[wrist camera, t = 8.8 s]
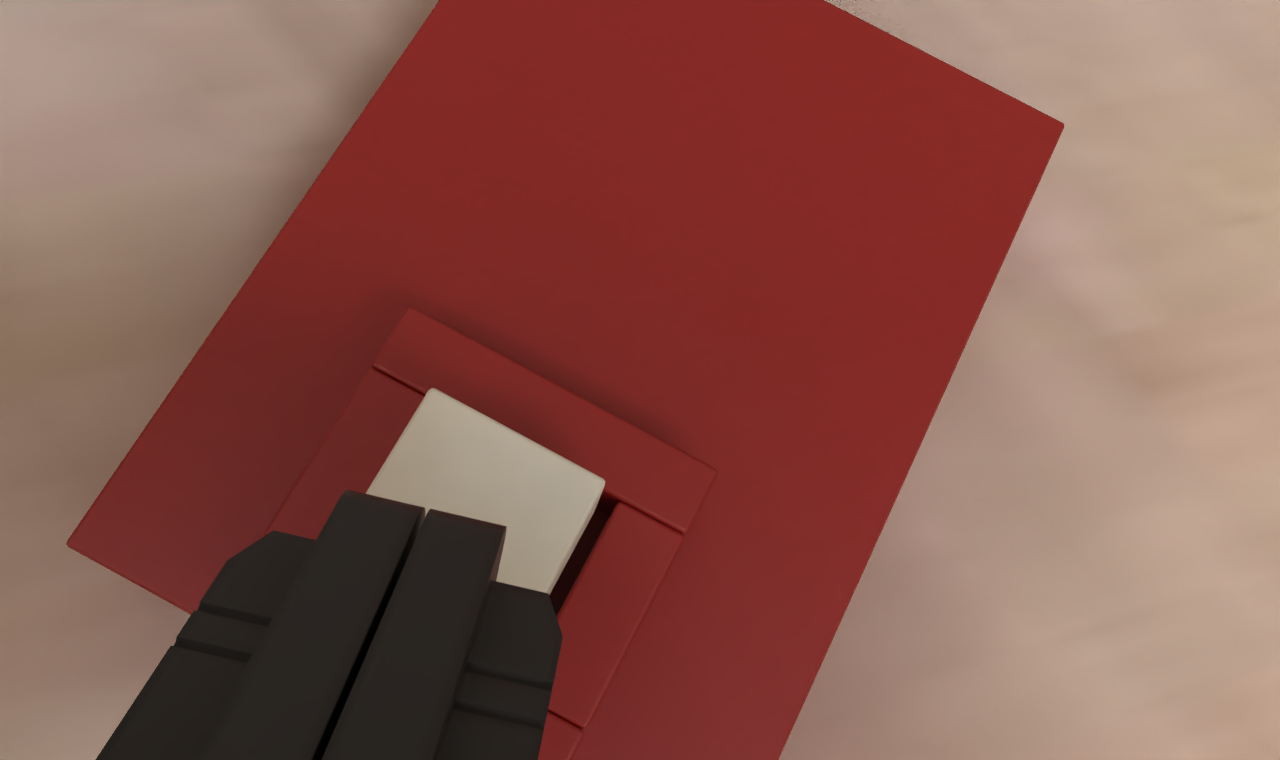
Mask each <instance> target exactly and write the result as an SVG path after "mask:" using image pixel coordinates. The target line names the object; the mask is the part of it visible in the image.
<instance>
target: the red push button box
mask: <svg viewBox="0 0 1280 760" xmlns="http://www.w3.org/2000/svg"><path fill="white" fill-rule="evenodd" d="M1063 128H1064V124H1063V123H1062V122H1060V121H1058V120H1056V119H1054V118H1052V117H1050V116H1048V115H1046V114H1044V113H1042V112H1040V111H1038V110H1036V109H1034V108H1032V107H1031V106H1029V105H1027V104H1025V103H1023V102H1021V101H1019V100H1017V99H1015V98H1013V97H1011V96H1009V95H1007V94H1005V93H1003V92H1001V91H999V90H997V89H996V88H994V87H992V86H990V85H988V84H986V83H984V82H982V81H980V80H978V79H976V78H974V77H972V76H970V75H968V74H966V73H964V72H962V71H960V70H959V69H957V68H955V67H953V66H951V65H949V64H947V63H945V62H943V61H941V60H939V59H937V58H935V57H933V56H931V55H929V54H927V53H925V52H923V51H922V50H920V49H918V48H916V47H914V46H912V45H910V44H908V43H906V42H904V41H902V40H900V39H898V38H896V37H894V36H892V35H890V34H888V33H886V32H885V31H883V30H881V29H879V28H877V27H875V26H873V25H871V24H869V23H867V22H865V21H863V20H861V19H859V18H857V17H855V16H853V15H851V14H850V13H848V12H846V11H844V10H842V9H840V8H838V7H836V6H834V5H832V4H830V3H828V2H826V1H824V0H439V1H438V3H437V4H436V6H435V7H434V9H433V10H432V11H431V13H430V14H429V16H428V17H427V19H426V20H425V22H424V23H423V25H422V26H421V27H420V29H419V30H418V32H417V33H416V35H415V36H414V38H413V39H412V41H411V42H410V43H409V45H408V46H407V48H406V49H405V51H404V52H403V54H402V55H401V57H400V58H399V59H398V61H397V62H396V64H395V65H394V67H393V68H392V70H391V71H390V73H389V74H388V75H387V77H386V78H385V80H384V81H383V83H382V84H381V86H380V87H379V89H378V90H377V91H376V93H375V94H374V96H373V97H372V99H371V100H370V102H369V103H368V105H367V106H366V107H365V109H364V110H363V112H362V113H361V115H360V116H359V118H358V119H357V120H356V122H355V123H354V125H353V126H352V128H351V129H350V131H349V132H348V134H347V135H346V136H345V138H344V139H343V141H342V142H341V144H340V145H339V147H338V148H337V150H336V151H335V152H334V154H333V155H332V157H331V158H330V160H329V161H328V163H327V164H326V166H325V167H324V168H323V170H322V171H321V173H320V174H319V176H318V177H317V179H316V180H315V182H314V183H313V184H312V186H311V187H310V189H309V190H308V192H307V193H306V195H305V196H304V198H303V199H302V200H301V202H300V203H299V205H298V206H297V208H296V209H295V211H294V212H293V214H292V215H291V216H290V218H289V219H288V221H287V222H286V224H285V225H284V227H283V228H282V229H281V231H280V232H279V234H278V235H277V237H276V238H275V240H274V241H273V243H272V244H271V245H270V247H269V248H268V250H267V251H266V253H265V254H264V256H263V257H262V259H261V260H260V261H259V263H258V264H257V266H256V267H255V269H254V270H253V272H252V273H251V275H250V276H249V277H248V279H247V280H246V282H245V283H244V285H243V286H242V288H241V289H240V291H239V292H238V293H237V295H236V296H235V298H234V299H233V301H232V302H231V304H230V305H229V307H228V308H227V309H226V311H225V312H224V314H223V315H222V317H221V318H220V320H219V321H218V323H217V324H216V325H215V327H214V328H213V330H212V331H211V333H210V334H209V336H208V337H207V338H206V340H205V341H204V343H203V344H202V346H201V347H200V349H199V350H198V352H197V353H196V354H195V356H194V357H193V359H192V360H191V362H190V363H189V365H188V366H187V368H186V369H185V370H184V372H183V373H182V375H181V376H180V378H179V379H178V381H177V382H176V384H175V385H174V386H173V388H172V389H171V391H170V392H169V394H168V395H167V397H166V398H165V400H164V401H163V402H162V404H161V405H160V407H159V408H158V410H157V411H156V413H155V414H154V416H153V417H152V418H151V420H150V421H149V423H148V424H147V426H146V427H145V429H144V430H143V432H142V433H141V434H140V436H139V437H138V439H137V440H136V442H135V443H134V445H133V446H132V448H131V449H130V450H129V452H128V453H127V455H126V456H125V458H124V459H123V461H122V462H121V463H120V465H119V466H118V468H117V469H116V471H115V472H114V474H113V475H112V477H111V478H110V479H109V481H108V482H107V484H106V485H105V487H104V488H103V490H102V491H101V493H100V494H99V495H98V497H97V498H96V500H95V501H94V503H93V504H92V506H91V507H90V509H89V510H88V511H87V513H86V514H85V516H84V517H83V519H82V520H81V522H80V523H79V525H78V526H77V527H76V529H75V530H74V532H73V533H72V535H71V536H70V538H69V539H68V541H67V543H66V544H67V546H68V547H70V548H71V549H73V550H75V551H77V552H79V553H80V554H82V555H84V556H86V557H88V558H90V559H91V560H93V561H95V562H97V563H99V564H100V565H102V566H104V567H106V568H108V569H110V570H111V571H113V572H115V573H117V574H119V575H120V576H122V577H124V578H126V579H128V580H130V581H131V582H133V583H135V584H137V585H139V586H140V587H142V588H144V589H146V590H148V591H150V592H151V593H153V594H155V595H157V596H159V597H160V598H162V599H164V600H166V601H168V602H169V603H171V604H173V605H175V606H177V607H179V608H180V609H182V610H184V611H186V612H188V613H189V614H192V613H193V611H194V610H196V611H197V610H198V607H199V604H200V601H201V599H202V598H203V596H204V595H205V593H206V592H207V590H208V589H209V587H210V586H211V584H212V583H213V581H214V580H215V578H216V577H217V575H218V573H219V572H220V570H221V569H222V567H223V566H224V564H225V563H226V561H227V560H228V559H230V558H231V557H233V556H235V555H236V554H238V553H239V552H241V551H242V550H244V549H245V548H247V547H248V546H250V545H251V544H253V543H255V542H256V541H258V540H259V539H261V538H262V537H264V536H265V535H267V534H268V533H270V532H271V531H273V530H275V531H279V532H283V533H288V534H292V535H296V536H301V537H305V538H309V539H314V540H316V539H317V538H318V536H319V534H320V532H321V530H322V529H323V527H324V525H325V523H326V522H327V520H328V518H329V516H330V514H331V513H332V511H333V509H334V507H335V505H336V504H337V502H338V500H339V498H340V497H341V495H342V494H343V493H344V491H346V490H352V491H356V492H360V493H365V494H366V492H367V490H368V489H369V487H370V485H371V484H372V482H373V480H374V479H375V477H376V476H377V474H378V472H379V471H380V469H381V467H382V466H383V464H384V462H385V461H386V459H387V457H388V456H389V454H390V453H391V451H392V449H393V448H394V446H395V444H396V443H397V441H398V439H399V438H400V436H401V435H402V433H403V431H404V430H405V428H406V426H407V425H408V423H409V421H410V420H411V418H412V416H413V415H414V413H415V412H416V410H417V408H418V407H419V405H420V403H421V402H422V400H423V398H424V397H425V395H426V393H427V392H428V390H430V389H431V388H435V389H437V390H439V391H441V392H443V393H445V394H447V395H448V396H450V397H452V398H454V399H456V400H458V401H460V402H462V403H463V404H465V405H467V406H469V407H471V408H473V409H475V410H476V411H478V412H480V413H482V414H484V415H486V416H488V417H489V418H491V419H493V420H495V421H497V422H499V423H501V424H503V425H504V426H506V427H508V428H510V429H512V430H514V431H516V432H517V433H519V434H521V435H523V436H525V437H527V438H529V439H531V440H532V441H534V442H536V443H538V444H540V445H542V446H544V447H545V448H547V449H549V450H551V451H553V452H555V453H557V454H558V455H560V456H562V457H564V458H566V459H568V460H570V461H572V462H573V463H575V464H577V465H579V466H581V467H583V468H585V469H586V470H588V471H590V472H592V473H594V474H596V475H598V476H599V477H601V478H603V479H604V480H605V486H604V489H603V491H602V494H601V496H600V499H599V501H598V504H597V506H596V509H595V511H594V513H593V515H592V517H591V519H590V521H589V523H588V525H587V526H586V528H585V530H584V532H583V534H582V536H581V538H580V539H579V541H578V543H577V545H576V547H575V549H574V551H573V552H572V554H571V556H570V558H569V560H568V562H567V564H566V565H565V567H564V569H563V571H562V573H561V575H560V577H559V578H558V580H557V582H556V584H555V586H554V588H553V590H552V591H551V593H550V595H549V596H550V599H551V602H552V605H553V608H554V611H555V614H556V617H557V620H558V623H559V626H560V629H561V632H562V635H563V640H562V645H561V650H560V654H559V659H558V664H557V669H556V674H555V679H554V683H553V687H552V693H551V698H550V703H549V708H548V713H547V718H546V722H545V726H544V732H543V737H542V742H541V747H540V752H539V756H538V760H778V759H779V757H780V755H781V752H782V750H783V748H784V746H785V744H786V741H787V739H788V737H789V735H790V732H791V730H792V728H793V726H794V724H795V721H796V719H797V717H798V715H799V713H800V710H801V708H802V706H803V704H804V701H805V699H806V697H807V695H808V693H809V690H810V688H811V686H812V684H813V682H814V679H815V677H816V675H817V673H818V670H819V668H820V666H821V664H822V662H823V659H824V657H825V655H826V653H827V651H828V648H829V646H830V644H831V642H832V640H833V637H834V635H835V633H836V631H837V628H838V626H839V624H840V622H841V620H842V617H843V615H844V613H845V611H846V609H847V606H848V604H849V602H850V600H851V597H852V595H853V593H854V591H855V589H856V586H857V584H858V582H859V580H860V578H861V575H862V573H863V571H864V569H865V567H866V564H867V562H868V560H869V558H870V555H871V553H872V551H873V549H874V547H875V544H876V542H877V540H878V538H879V536H880V533H881V531H882V529H883V527H884V524H885V522H886V520H887V518H888V516H889V513H890V511H891V509H892V507H893V505H894V502H895V500H896V498H897V496H898V494H899V491H900V489H901V487H902V485H903V482H904V480H905V478H906V476H907V474H908V471H909V469H910V467H911V465H912V463H913V460H914V458H915V456H916V454H917V451H918V449H919V447H920V445H921V443H922V440H923V438H924V436H925V434H926V432H927V429H928V427H929V425H930V423H931V420H932V418H933V416H934V414H935V412H936V409H937V407H938V405H939V403H940V401H941V398H942V396H943V394H944V392H945V390H946V387H947V385H948V383H949V381H950V378H951V376H952V374H953V372H954V370H955V367H956V365H957V363H958V361H959V359H960V356H961V354H962V352H963V350H964V347H965V345H966V343H967V341H968V339H969V336H970V334H971V332H972V330H973V328H974V325H975V323H976V321H977V319H978V317H979V314H980V312H981V310H982V308H983V305H984V303H985V301H986V299H987V297H988V294H989V292H990V290H991V288H992V286H993V283H994V281H995V279H996V277H997V274H998V272H999V270H1000V268H1001V266H1002V263H1003V261H1004V259H1005V257H1006V255H1007V252H1008V250H1009V248H1010V246H1011V244H1012V241H1013V239H1014V237H1015V235H1016V232H1017V230H1018V228H1019V226H1020V224H1021V221H1022V219H1023V217H1024V215H1025V213H1026V210H1027V208H1028V206H1029V204H1030V201H1031V199H1032V197H1033V195H1034V193H1035V190H1036V188H1037V186H1038V184H1039V182H1040V179H1041V177H1042V175H1043V173H1044V170H1045V168H1046V166H1047V164H1048V162H1049V159H1050V157H1051V155H1052V153H1053V151H1054V148H1055V146H1056V144H1057V142H1058V140H1059V137H1060V135H1061V133H1062V131H1063Z"/></svg>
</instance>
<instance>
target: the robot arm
mask: <svg viewBox="0 0 1280 760" xmlns="http://www.w3.org/2000/svg"><path fill="white" fill-rule="evenodd" d="M506 529H507V526H503V525H499V524H495V523H490V522H486V521H482V520H477V519H473V518H469V517H465V516H460V515H456V514H452V513H447V512H443V511H439V510H435V509H430V510H429V511H428V513H427V514H426V517H425V508H424V507H420V506H416V505H412V504H407V503H403V502H399V501H395V500H390V499H386V498H382V497H377V496H373V495H369V494H365V493H360V492H356V491H352V490H346V491H344V493H343V494H342V495H341V497H340V498H339V500H338V502H337V504H336V505H335V507H334V509H333V511H332V513H331V514H330V516H329V518H328V520H327V522H326V523H325V525H324V527H323V529H322V530H321V532H320V534H319V536H318V538H317V539H316V540H314V539H309V538H305V537H301V536H296V535H292V534H288V533H283V532H279V531H275V530H273V531H271V532H270V533H268V534H267V535H265V536H264V537H262V538H261V539H259V540H258V541H256V542H255V543H253V544H251V545H250V546H248V547H247V548H245V549H244V550H242V551H241V552H239V553H238V554H236V555H235V556H233V557H231V558H230V559H228V560H227V561H226V563H225V564H224V566H223V567H222V569H221V570H220V572H219V573H218V575H217V577H216V578H215V580H214V581H213V583H212V584H211V586H210V587H209V589H208V590H207V592H206V593H205V595H204V596H203V598H202V599H201V601H200V604H199V607H198V610H197V611H196V610H194V611H193V613H192V614H191V616H190V617H189V619H188V621H187V622H186V624H185V625H184V627H183V628H182V630H181V631H180V633H179V634H178V636H177V639H176V642H175V645H174V646H170V648H169V649H168V651H167V652H166V654H165V655H164V657H163V658H162V660H161V661H160V663H159V665H158V666H157V668H156V669H155V671H154V672H153V674H152V675H151V677H150V678H149V680H148V681H147V683H146V684H145V686H144V687H143V689H142V690H141V692H140V693H139V695H138V696H137V698H136V699H135V701H134V702H133V704H132V705H131V707H130V709H129V710H128V712H127V713H126V715H125V716H124V718H123V719H122V721H121V722H120V724H119V725H118V727H117V728H116V730H115V731H114V733H113V734H112V736H111V737H110V739H109V740H108V742H107V743H106V745H105V746H104V748H103V749H102V751H101V753H100V754H99V756H98V757H97V759H96V760H538V756H539V752H540V747H541V742H542V737H543V732H544V726H545V722H546V718H547V713H548V708H549V703H550V698H551V693H552V687H553V683H554V679H555V674H556V669H557V664H558V659H559V654H560V650H561V645H562V640H563V635H562V632H561V629H560V626H559V623H558V620H557V617H556V614H555V611H554V608H553V605H552V602H551V599H550V596H549V593H544V592H540V591H536V590H531V589H527V588H523V587H518V586H514V585H510V584H505V583H501V582H497V581H496V579H497V575H498V570H499V565H500V560H501V556H502V551H503V546H504V541H505V536H506Z"/></svg>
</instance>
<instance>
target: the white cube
mask: <svg viewBox="0 0 1280 760" xmlns="http://www.w3.org/2000/svg"><path fill="white" fill-rule="evenodd" d="M604 486H605V480H604V479H603V478H601V477H599V476H598V475H596V474H594V473H592V472H590V471H588V470H586V469H585V468H583V467H581V466H579V465H577V464H575V463H573V462H572V461H570V460H568V459H566V458H564V457H562V456H560V455H558V454H557V453H555V452H553V451H551V450H549V449H547V448H545V447H544V446H542V445H540V444H538V443H536V442H534V441H532V440H531V439H529V438H527V437H525V436H523V435H521V434H519V433H517V432H516V431H514V430H512V429H510V428H508V427H506V426H504V425H503V424H501V423H499V422H497V421H495V420H493V419H491V418H489V417H488V416H486V415H484V414H482V413H480V412H478V411H476V410H475V409H473V408H471V407H469V406H467V405H465V404H463V403H462V402H460V401H458V400H456V399H454V398H452V397H450V396H448V395H447V394H445V393H443V392H441V391H439V390H437V389H435V388H431V389H430V390H428V392H427V393H426V395H425V397H424V398H423V400H422V402H421V403H420V405H419V407H418V408H417V410H416V412H415V413H414V415H413V416H412V418H411V420H410V421H409V423H408V425H407V426H406V428H405V430H404V431H403V433H402V435H401V436H400V438H399V439H398V441H397V443H396V444H395V446H394V448H393V449H392V451H391V453H390V454H389V456H388V457H387V459H386V461H385V462H384V464H383V466H382V467H381V469H380V471H379V472H378V474H377V476H376V477H375V479H374V480H373V482H372V484H371V485H370V487H369V489H368V490H367V492H366V494H369V495H373V496H377V497H382V498H386V499H390V500H395V501H399V502H403V503H407V504H412V505H416V506H420V507H424V508H425V517H426V514H427V513H428V511H429V510H430V509H435V510H439V511H443V512H447V513H452V514H456V515H460V516H465V517H469V518H473V519H477V520H482V521H486V522H490V523H495V524H499V525H503V526H507V529H506V536H505V541H504V546H503V551H502V556H501V560H500V565H499V570H498V575H497V579H496V581H497V582H501V583H505V584H510V585H514V586H518V587H523V588H527V589H531V590H536V591H540V592H544V593H549V595H550V593H551V591H552V590H553V588H554V586H555V584H556V582H557V580H558V578H559V577H560V575H561V573H562V571H563V569H564V567H565V565H566V564H567V562H568V560H569V558H570V556H571V554H572V552H573V551H574V549H575V547H576V545H577V543H578V541H579V539H580V538H581V536H582V534H583V532H584V530H585V528H586V526H587V525H588V523H589V521H590V519H591V517H592V515H593V513H594V511H595V509H596V506H597V504H598V501H599V499H600V496H601V494H602V491H603V489H604Z"/></svg>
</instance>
